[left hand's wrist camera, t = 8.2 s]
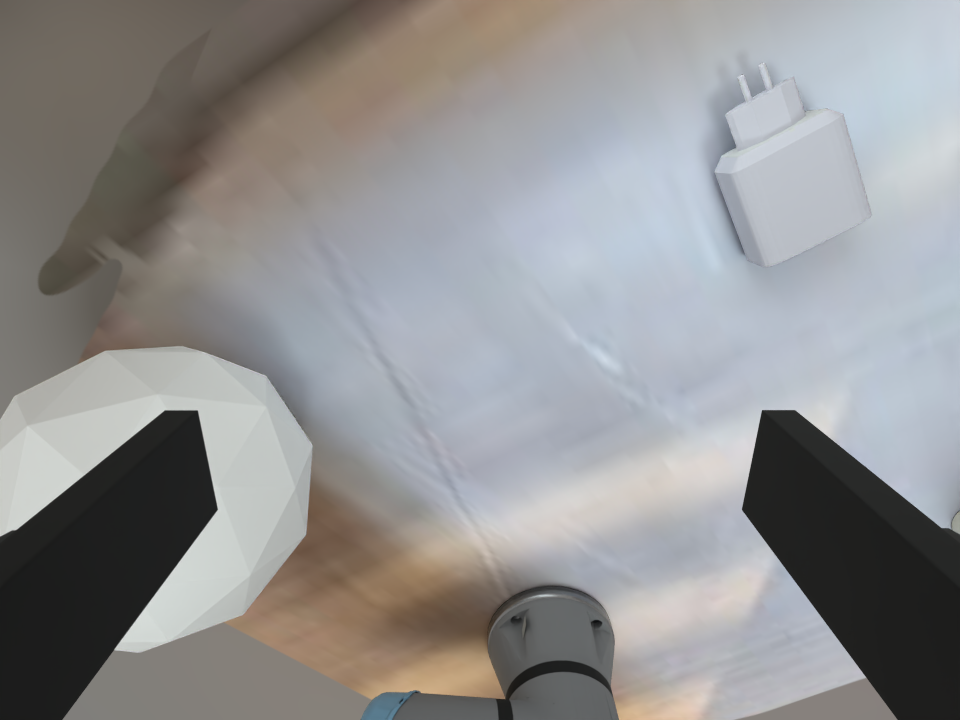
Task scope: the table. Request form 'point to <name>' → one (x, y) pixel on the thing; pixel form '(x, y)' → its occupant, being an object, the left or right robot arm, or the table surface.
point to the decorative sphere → (231, 456)
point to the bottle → (956, 523)
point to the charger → (788, 174)
